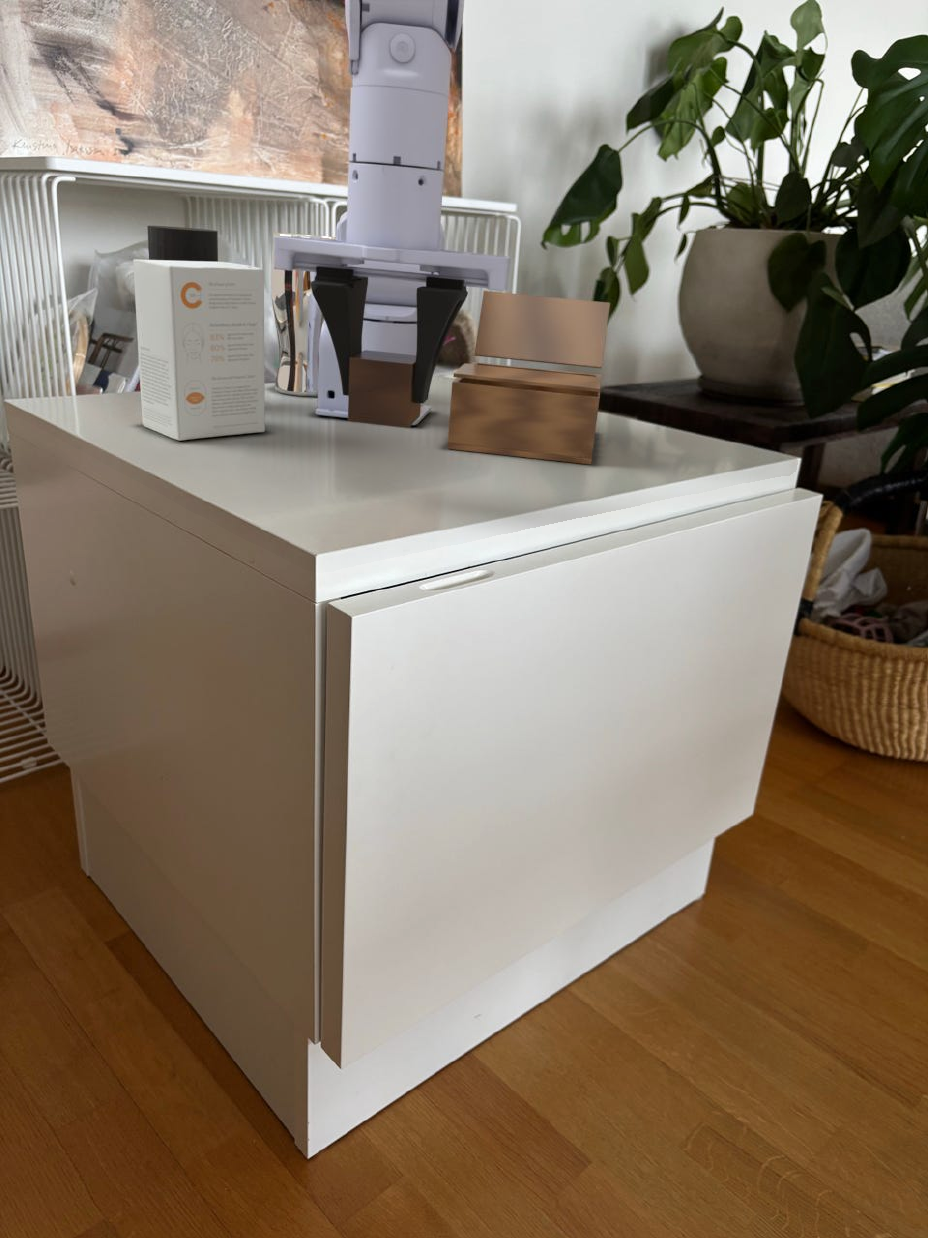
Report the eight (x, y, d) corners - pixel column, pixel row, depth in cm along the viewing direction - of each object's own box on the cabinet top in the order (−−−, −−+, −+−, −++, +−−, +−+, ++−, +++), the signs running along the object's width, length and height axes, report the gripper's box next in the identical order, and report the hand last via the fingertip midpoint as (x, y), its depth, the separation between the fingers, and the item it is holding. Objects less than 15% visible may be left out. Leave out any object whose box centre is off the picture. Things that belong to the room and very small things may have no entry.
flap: (483, 290, 91) (483, 291, 91) (474, 354, 90) (474, 355, 90) (610, 302, 90) (610, 303, 90) (601, 367, 89) (601, 368, 89)
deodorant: (200, 392, 95) (196, 227, 89) (232, 404, 91) (230, 232, 85) (143, 396, 91) (135, 224, 85) (173, 408, 87) (167, 228, 81)
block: (347, 421, 62) (349, 357, 60) (362, 410, 66) (364, 349, 64) (408, 428, 62) (412, 363, 60) (420, 416, 65) (423, 355, 64)
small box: (226, 418, 85) (224, 260, 80) (266, 433, 81) (266, 267, 76) (139, 425, 79) (130, 257, 74) (177, 442, 75) (170, 264, 70)
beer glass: (325, 400, 96) (329, 238, 90) (259, 392, 97) (259, 232, 92) (347, 389, 103) (352, 238, 97) (285, 382, 104) (286, 232, 98)
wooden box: (447, 448, 81) (452, 373, 78) (468, 420, 93) (473, 354, 90) (590, 464, 80) (600, 388, 77) (593, 433, 91) (602, 367, 89)
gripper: (256, 153, 55) (257, 394, 60) (510, 174, 53) (487, 420, 59) (294, 160, 61) (291, 378, 67) (521, 179, 60) (500, 400, 65)
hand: (385, 396), depth 63 cm, fingers closed on block, 4 cm apart
